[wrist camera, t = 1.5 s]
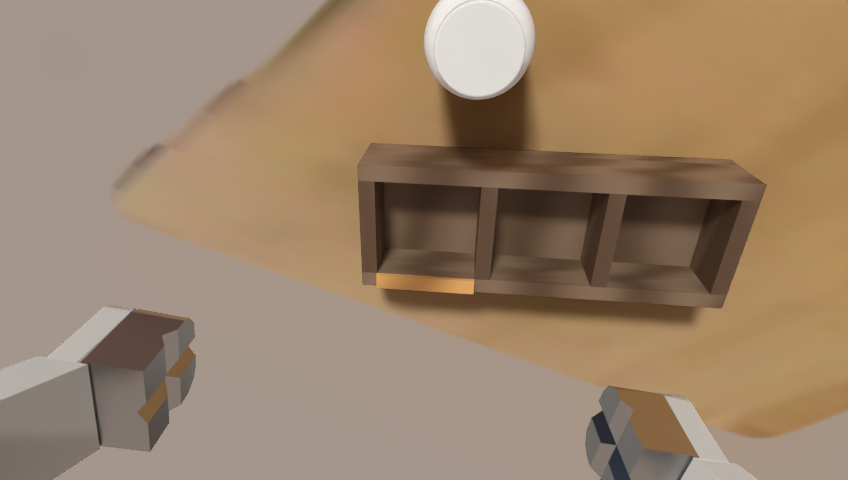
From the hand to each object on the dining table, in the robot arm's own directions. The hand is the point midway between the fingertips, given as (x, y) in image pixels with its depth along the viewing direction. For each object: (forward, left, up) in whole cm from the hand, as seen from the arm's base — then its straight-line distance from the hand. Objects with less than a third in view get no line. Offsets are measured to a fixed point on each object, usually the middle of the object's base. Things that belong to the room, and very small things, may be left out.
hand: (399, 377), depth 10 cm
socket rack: (-6, +7, -25) cm, 27 cm away
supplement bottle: (-1, -4, -25) cm, 26 cm away
